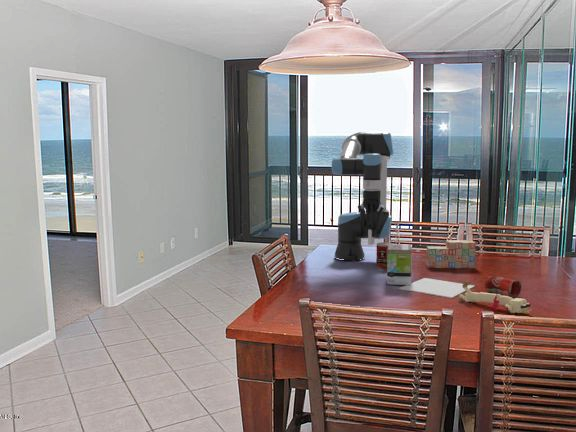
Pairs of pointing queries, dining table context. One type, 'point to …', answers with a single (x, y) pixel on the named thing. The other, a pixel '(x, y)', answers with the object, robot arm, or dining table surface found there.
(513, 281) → the beverage can
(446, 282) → the mat
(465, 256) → the stack of blocks
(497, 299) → the cat figure
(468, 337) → the dining table surface
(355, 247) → the robot arm
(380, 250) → the canned food
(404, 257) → the tea box
